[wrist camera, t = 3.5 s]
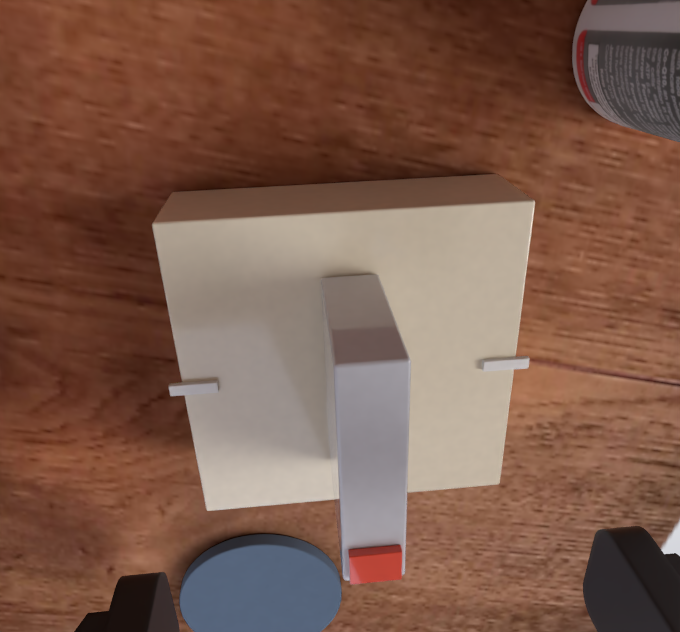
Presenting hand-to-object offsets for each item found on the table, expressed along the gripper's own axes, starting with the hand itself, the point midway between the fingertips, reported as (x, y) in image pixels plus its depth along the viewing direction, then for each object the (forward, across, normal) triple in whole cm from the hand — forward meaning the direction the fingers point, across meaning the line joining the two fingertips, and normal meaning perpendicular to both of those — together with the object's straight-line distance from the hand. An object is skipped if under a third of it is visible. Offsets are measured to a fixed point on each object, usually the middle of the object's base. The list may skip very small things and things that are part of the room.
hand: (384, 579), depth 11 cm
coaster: (+10, +4, +13) cm, 17 cm away
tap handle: (+7, 0, 0) cm, 7 cm away
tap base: (+10, 0, 0) cm, 10 cm away
